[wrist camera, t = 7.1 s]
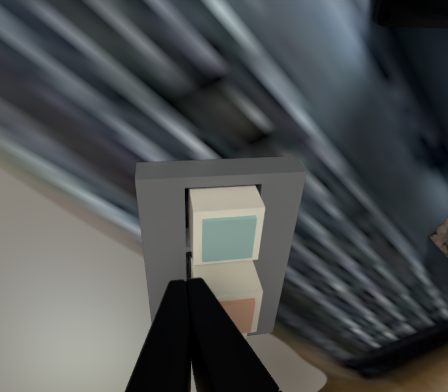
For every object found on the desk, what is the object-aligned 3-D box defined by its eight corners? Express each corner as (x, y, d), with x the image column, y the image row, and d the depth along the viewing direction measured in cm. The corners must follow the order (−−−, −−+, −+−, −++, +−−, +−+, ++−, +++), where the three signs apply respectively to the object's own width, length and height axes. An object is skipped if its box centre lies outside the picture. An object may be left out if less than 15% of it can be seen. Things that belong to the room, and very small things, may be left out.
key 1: (251, 176, 21) (267, 210, 18) (246, 225, 24) (259, 263, 21) (187, 180, 21) (193, 215, 18) (188, 230, 23) (193, 269, 20)
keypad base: (295, 156, 22) (306, 171, 20) (266, 313, 31) (272, 332, 29) (136, 162, 20) (135, 179, 19) (154, 326, 29) (154, 347, 27)
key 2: (250, 253, 23) (264, 295, 20) (245, 292, 25) (257, 335, 22) (190, 258, 22) (196, 303, 19) (191, 298, 24) (196, 343, 21)
